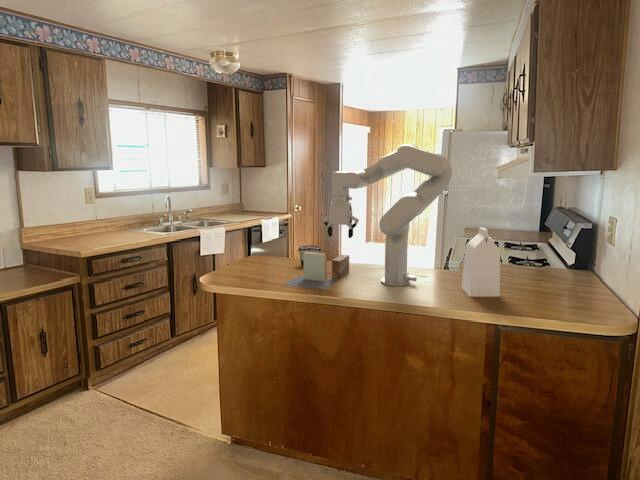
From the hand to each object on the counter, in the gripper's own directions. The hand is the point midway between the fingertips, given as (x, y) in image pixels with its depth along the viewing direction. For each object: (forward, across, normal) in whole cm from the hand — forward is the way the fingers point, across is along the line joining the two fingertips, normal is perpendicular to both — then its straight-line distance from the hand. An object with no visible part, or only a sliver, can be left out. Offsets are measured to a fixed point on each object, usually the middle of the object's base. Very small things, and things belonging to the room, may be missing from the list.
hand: (340, 236), depth 205 cm
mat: (+19, +8, +16) cm, 25 cm away
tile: (+18, +8, +11) cm, 23 cm away
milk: (+18, -61, +2) cm, 64 cm away
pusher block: (+19, 0, 0) cm, 19 cm away
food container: (+19, +22, -15) cm, 33 cm away
